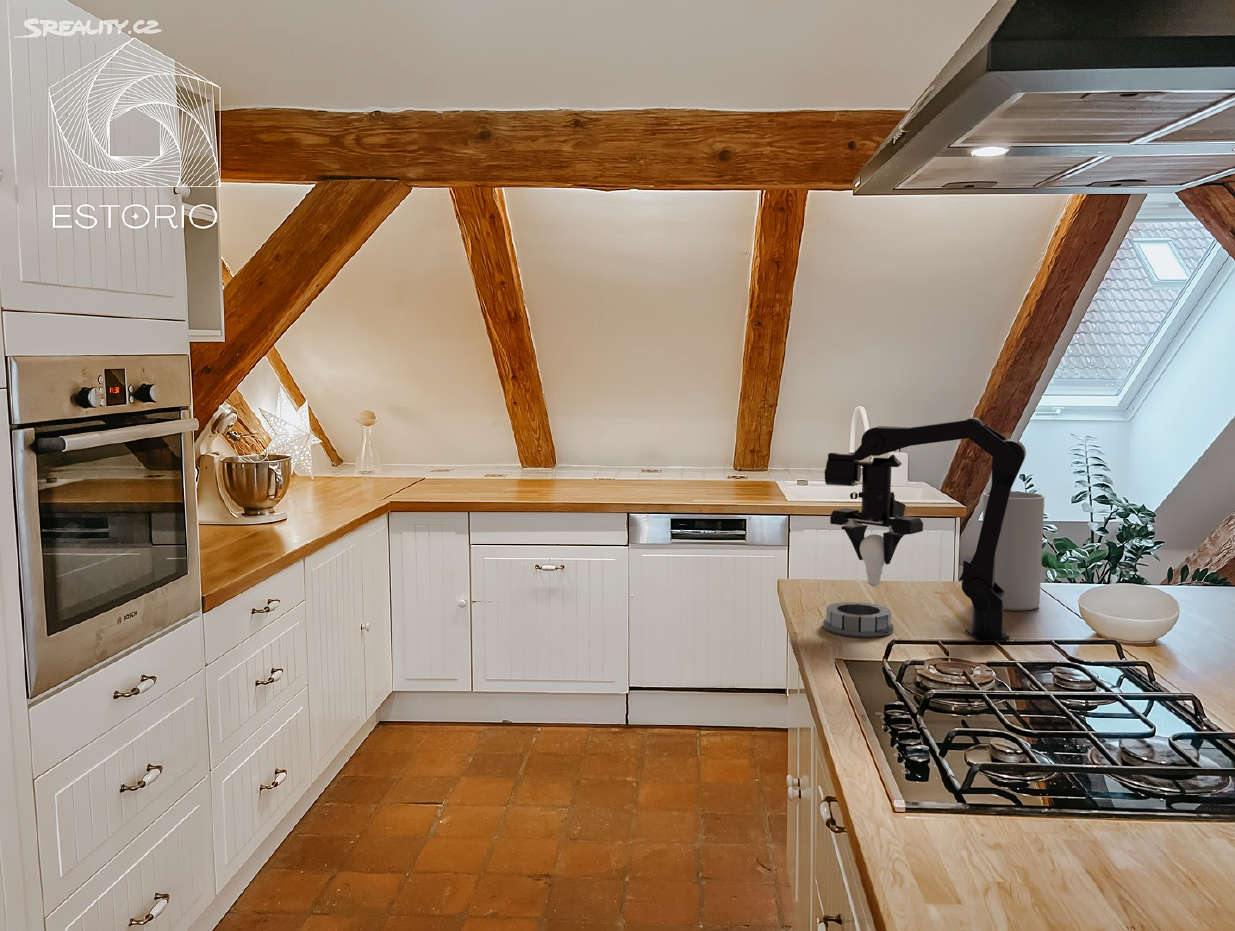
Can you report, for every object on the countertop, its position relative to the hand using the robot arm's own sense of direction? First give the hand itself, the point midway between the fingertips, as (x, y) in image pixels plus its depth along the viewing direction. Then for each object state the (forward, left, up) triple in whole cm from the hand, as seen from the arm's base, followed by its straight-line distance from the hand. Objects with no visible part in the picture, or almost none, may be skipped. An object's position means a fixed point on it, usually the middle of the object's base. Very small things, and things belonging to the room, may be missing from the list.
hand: (874, 562), depth 201 cm
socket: (-4, +4, -13) cm, 14 cm away
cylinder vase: (+13, -36, -13) cm, 40 cm away
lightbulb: (0, 0, -5) cm, 5 cm away
